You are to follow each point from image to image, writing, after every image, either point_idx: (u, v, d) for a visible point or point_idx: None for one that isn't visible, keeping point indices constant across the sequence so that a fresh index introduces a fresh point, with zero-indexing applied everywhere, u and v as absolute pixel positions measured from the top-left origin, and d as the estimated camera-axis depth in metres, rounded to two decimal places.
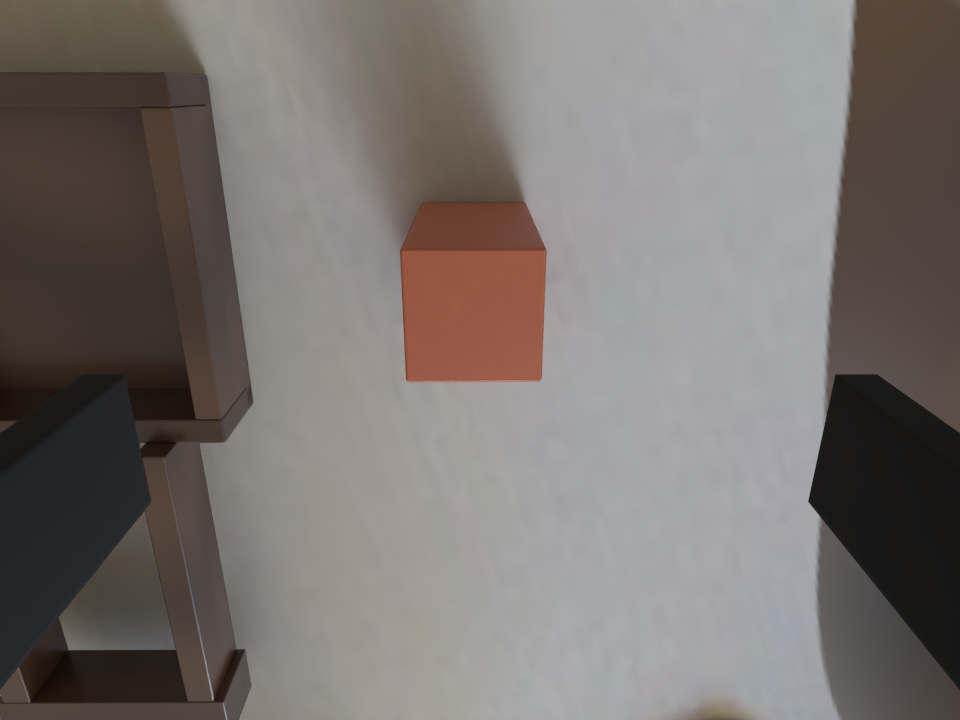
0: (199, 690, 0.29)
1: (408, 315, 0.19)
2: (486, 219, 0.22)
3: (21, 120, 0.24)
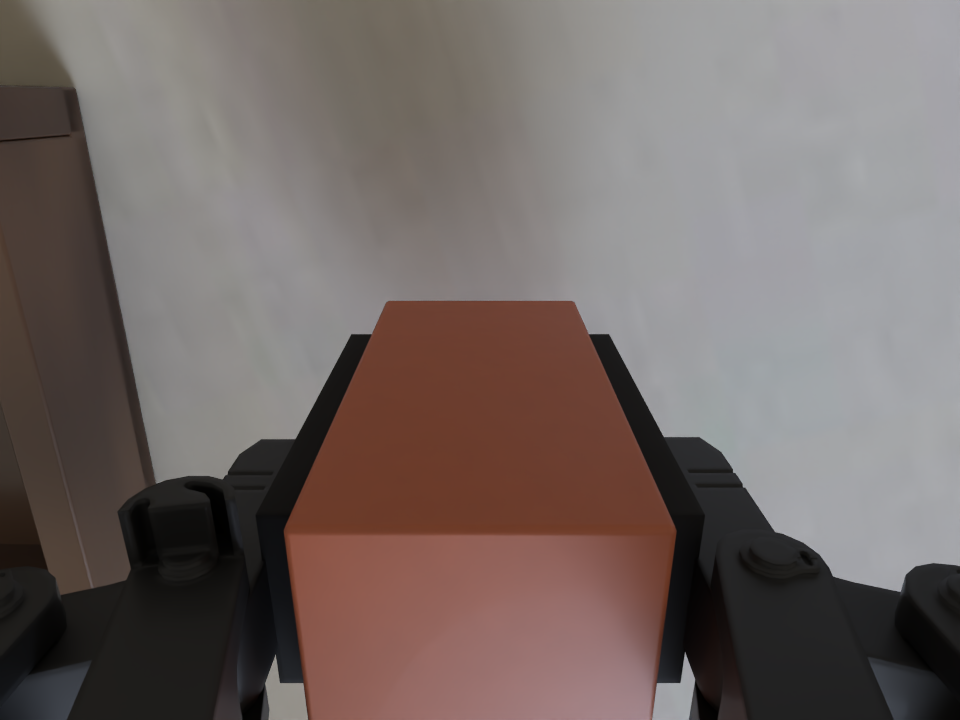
0: None
1: (313, 672, 0.07)
2: (506, 365, 0.11)
3: None
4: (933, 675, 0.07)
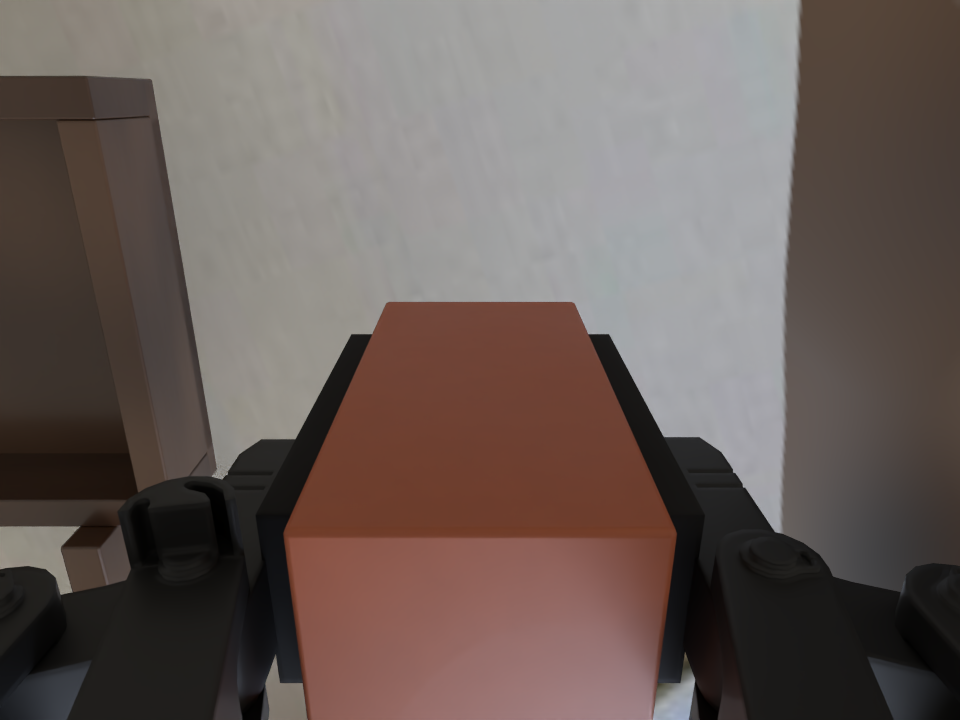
0: None
1: (313, 674, 0.07)
2: (506, 366, 0.11)
3: None
4: (933, 674, 0.07)
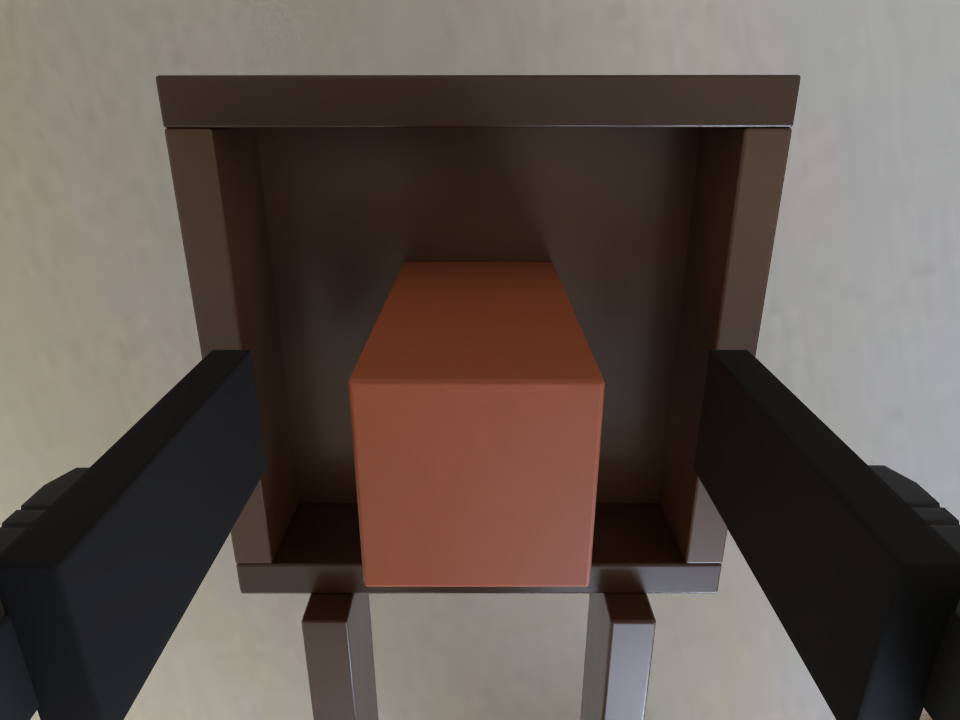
0: None
1: (364, 486, 0.11)
2: (497, 300, 0.14)
3: (474, 145, 0.17)
4: None
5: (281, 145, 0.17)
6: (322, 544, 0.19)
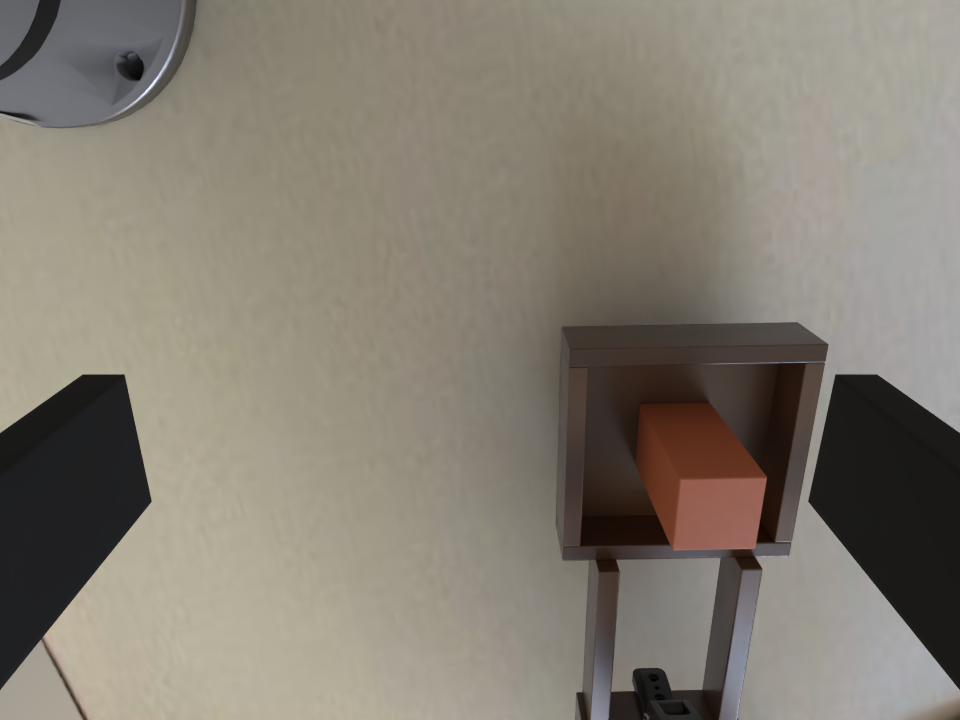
0: None
1: (679, 513, 0.31)
2: (702, 432, 0.34)
3: None
4: None
5: None
6: (598, 536, 0.39)
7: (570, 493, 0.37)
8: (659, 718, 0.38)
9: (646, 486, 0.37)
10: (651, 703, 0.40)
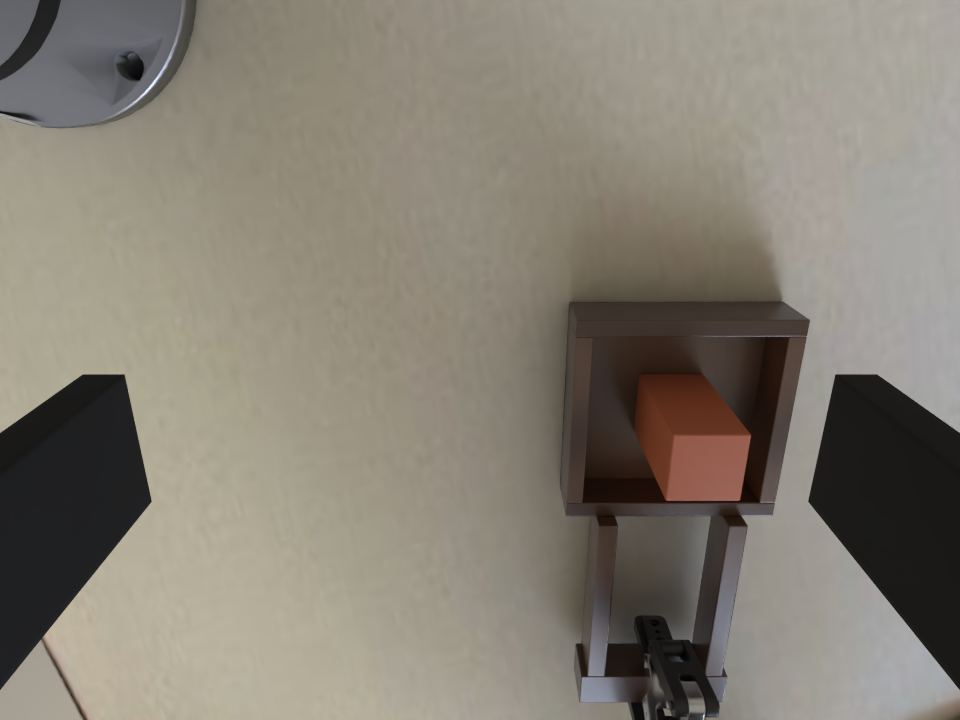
0: (715, 668, 0.45)
1: (672, 467, 0.35)
2: (695, 398, 0.38)
3: None
4: None
5: None
6: (598, 495, 0.42)
7: (574, 453, 0.40)
8: (661, 665, 0.40)
9: (643, 448, 0.40)
10: (652, 641, 0.42)
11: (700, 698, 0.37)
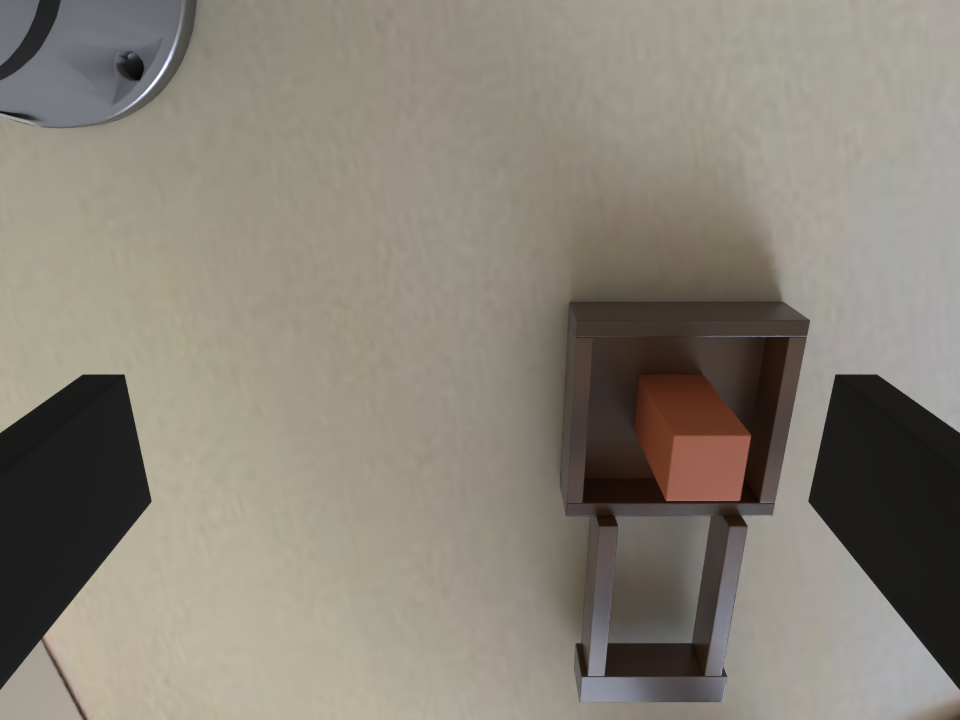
0: (715, 668, 0.45)
1: (672, 467, 0.35)
2: (695, 398, 0.38)
3: None
4: None
5: None
6: (598, 495, 0.42)
7: (574, 453, 0.40)
8: None
9: (643, 448, 0.40)
10: None
11: None
